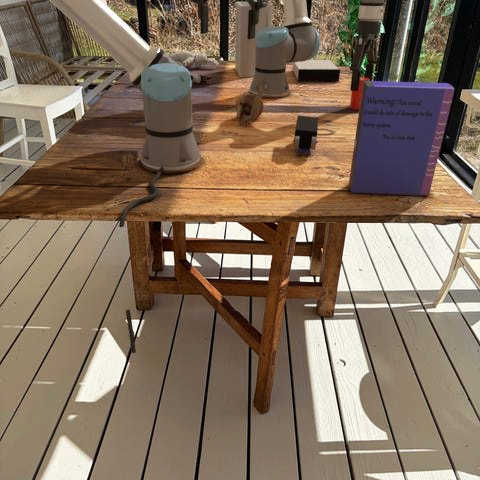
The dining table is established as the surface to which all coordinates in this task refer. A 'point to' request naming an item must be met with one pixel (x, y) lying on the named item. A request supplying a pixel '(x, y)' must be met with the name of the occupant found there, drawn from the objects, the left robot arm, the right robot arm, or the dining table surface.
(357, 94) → the can
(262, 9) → the tall cream pillar
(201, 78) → the figurine
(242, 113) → the brown lumpy shape
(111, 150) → the dining table surface
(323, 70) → the disc drive
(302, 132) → the figurine character
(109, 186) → the dining table surface
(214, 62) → the toy
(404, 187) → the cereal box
